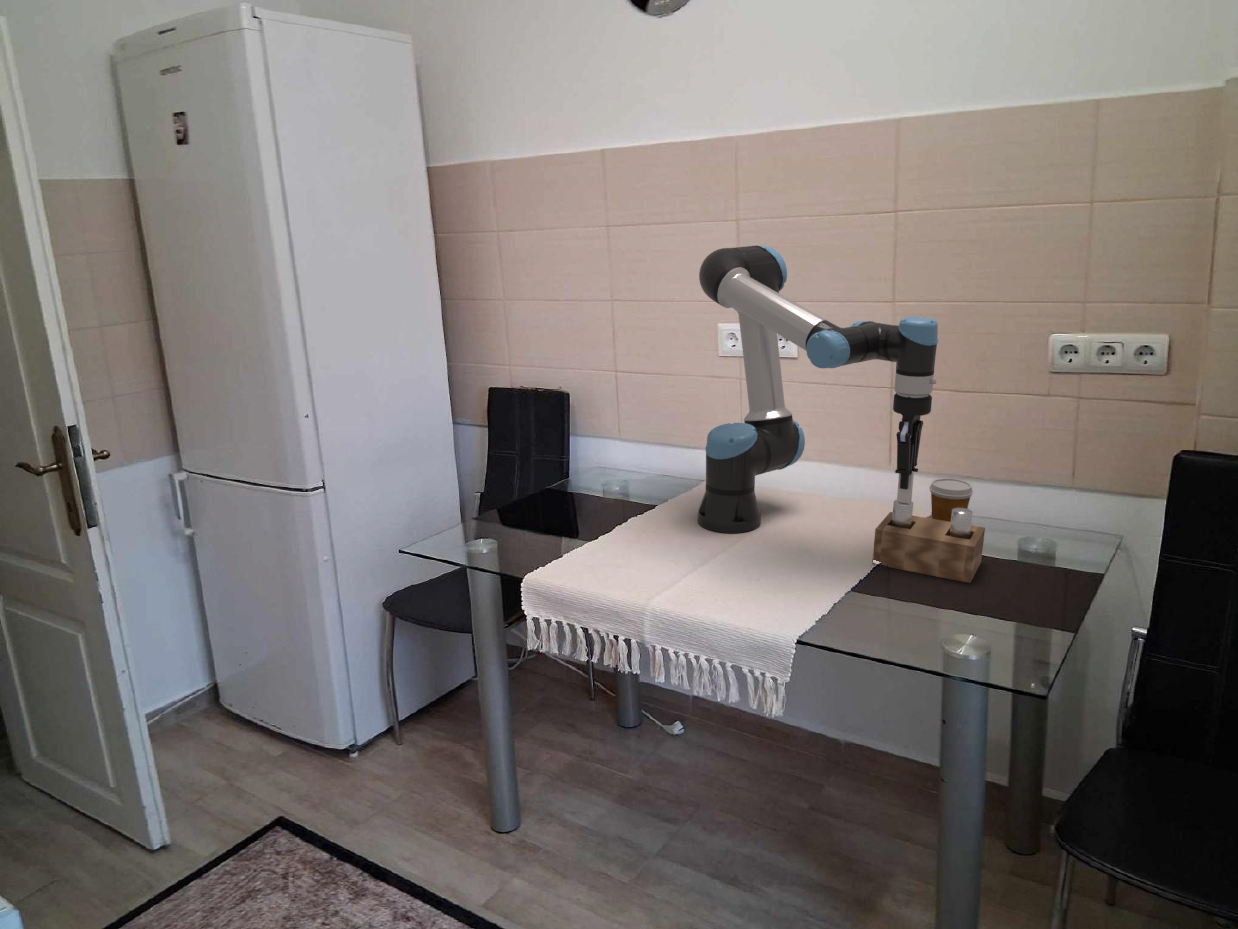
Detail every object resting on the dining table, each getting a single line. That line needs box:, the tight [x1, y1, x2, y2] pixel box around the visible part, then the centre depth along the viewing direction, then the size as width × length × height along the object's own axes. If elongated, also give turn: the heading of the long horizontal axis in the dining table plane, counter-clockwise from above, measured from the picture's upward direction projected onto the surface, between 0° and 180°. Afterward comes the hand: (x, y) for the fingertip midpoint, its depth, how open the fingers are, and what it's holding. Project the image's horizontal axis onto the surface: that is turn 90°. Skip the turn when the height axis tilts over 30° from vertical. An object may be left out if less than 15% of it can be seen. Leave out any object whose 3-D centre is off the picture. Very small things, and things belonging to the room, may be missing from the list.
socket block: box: [872, 511, 986, 584], centre depth 194 cm, size 20×12×8 cm, turn 59°
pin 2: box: [949, 508, 973, 539], centre depth 189 cm, size 4×4×7 cm
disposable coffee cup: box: [928, 477, 974, 522], centre depth 210 cm, size 10×10×12 cm
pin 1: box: [892, 499, 914, 529], centre depth 195 cm, size 4×4×7 cm
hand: (904, 501), depth 194 cm, fingers closed
